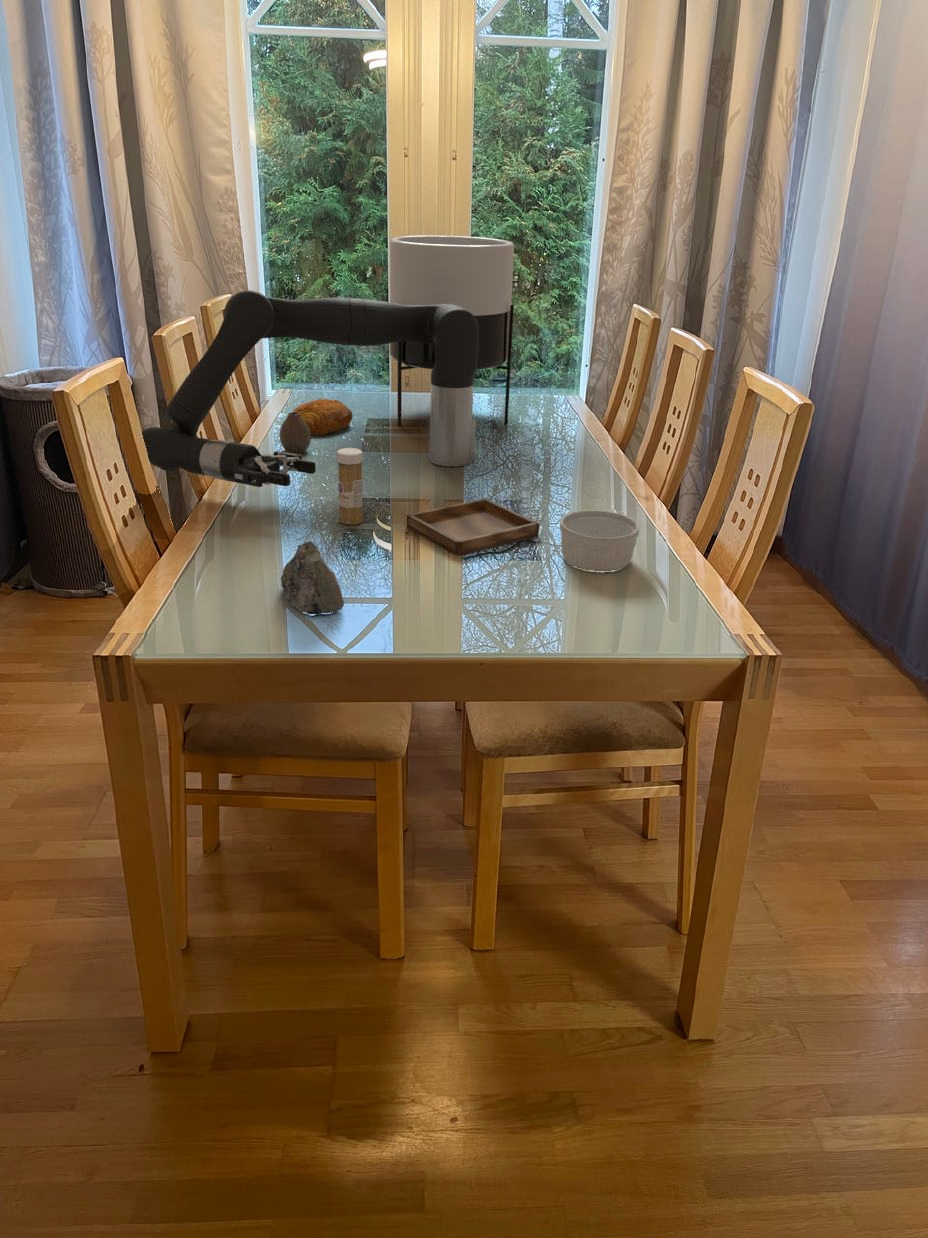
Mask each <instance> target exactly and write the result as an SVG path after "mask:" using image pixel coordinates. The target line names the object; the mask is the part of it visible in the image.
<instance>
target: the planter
mask: <svg viewBox="0 0 928 1238" xmlns="http://www.w3.org/2000/svg"><path fill="white" fill-rule="evenodd" d="M514 256H515V244H514V243H513V242H512V241H509V240H507V239H506V240H505V239H497V238H488V237H479V236H477V237H476V236H461V235H405V236H404V235H403V236H397V237H396V236H395V237H392V238H390V239H389V302H390V303H395V304H400V305H412V306H417V305H439V304H454V305H457V306H460V307H462V308H464V309H466V310H468V311H469V312H471V313H472V314H473V315H474V317H475V318H476V320H477V323H478V327H479V347H478V361H477V370H478V371H481V370H487V369H498V370H499V369H500V370H506V383H505V384H506V385H505V398H504V399H505V400H504V402H505V403H504V420H503V425H504V426H507V425H508V423H509V404H510V403H509V401H510V387H511V383H510V382H511V370H512V369H511V365H512V348H513V347H512V346H513V329H514V312H515V309H514V308H515V305H514V304H512V298H513V297H512V295H513V276H514V275H513V274H514ZM389 356H390V358H391V359H392V360H393V361H395V362H396V363H397V427H398V426H401V427H402V371H404V370H411V369H424V370H425V369H426V370H431V371H432V370H433V368H434V367H435V361H436V345H432V344H427V343H420V342H411V341H401V342H394V343H389ZM506 363H507V364H506ZM504 364H506V366H505V365H504ZM402 365H404V366H402ZM477 370H476V371H477Z"/></svg>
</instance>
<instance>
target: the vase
mask: <svg viewBox="0 0 928 1238" xmlns="http://www.w3.org/2000/svg"><path fill="white" fill-rule="evenodd" d="M311 436H312V434H311V433H310V429H309V427H308V425H307V423H306V422H305V421H304V420H303V418H302V417H301V415H300V413H299V412H293V411H290V412H288V414H287V417H286V418H285V420H284V421H283V423H281V426H280V430H279V441H280V444H281V446H282V448H283V450H285V452H287V453H294V454H303V453H305V452H306V451H307V450H308V448H309V447H310V444H311V440H312V437H311Z"/></svg>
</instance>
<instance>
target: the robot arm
mask: <svg viewBox="0 0 928 1238" xmlns="http://www.w3.org/2000/svg"><path fill="white" fill-rule="evenodd" d="M278 338H281V339H282V338H289V339H290V338H293V339H294V338H295V339H301V340H303V339H304V340H308V341H312V342H313V341H314V342H317V343H318V342H319V343H325V344H332V345H338V346H339V345H341V346H356V347H357V346H358V347H374V346H381V345H387V344H390V343H394V342H401V341H411V342H420V343H427V344H432V345H436V361H435V367H434V368H433V370H432V369H431V372H430V409H429V410H430V413H429V415H430V416H429V417H430V421H429V462H430V463H431V464H433V463H434V465H436V466H440V465H441V466H442V467H451V466H453V467H461V466H460V465H463V466H465V465H466V464H467V465H469V464H470V463H471V462H475V454H476V452H475V450H476V427H477V425H476V424H477V421H476V418H474V417H473V407H474V404H473V403H474V381H475V380H474V379H475V375H476V373H477V361H478V347H479V327H478V323H477V320H476V318H475V317H474V315H473V314H472V313H471V312H469V311H468V310H466V309H464V308H462V307H460V306H457V305H454V304H439V305H417V306H412V305H400V304H395V303H390V301H382V300H374V299H367V298H355V297H353V298H352V297H320V298H319V297H318V298H312V299H311V298H310V299H309V298H308V299H285V298H280V297H270V296H265V295H264V294H262V293H261V292H259V291H257V290H256V291H255V290H247V289H246V290H242V291H238V292H237V293H235V294H233V295H232V296H231V297H230V298H229V299H228V300H227V302H226V303H225V306H224V309H223V321H222V322H221V325H220V328H219V330H218V331H217V333H216V336H215V337H214V338H213V340H212V343H211V344H210V346H209V347H208V348H207V350H206V351H205V353H204V355H203V356H202V357H201V358H200V360H199V361H198V362H197V363H196V365H195V366H194V367H193V368H192V370H191V371H190V372H189V373H188V375H187V376H186V377H185V378H184V381H183V382H182V383H181V384H180V386H179V388H178V389H177V391H176V393H175V394H174V395H173V397H172V398H171V400H170V402H169V403H168V404H167V406H166V409H165V413H166V416H167V417H168V419H170V421H171V425H170V429H167V428H163V427H158V426H151V427H147V428H144V429H143V430H142V435H143V439H144V442H145V445H146V448H147V452H148V458H149V461H150V463H151V465H153V466H154V467H156V468H158V469H161V470H162V471H165V472H174V471H177V470H179V469H181V470H184V471H187V472H188V473H191V474H196V475H201V476H205V477H211V478H213V479H216V480H219V481H226V482H230V483H236V484H241V485H246V486H251V487H255V488H256V487H257V488H262V487H263V484H264V485H266V486H270V485H277V486H282V487H283V486H284V487H288V486H290V485H291V475H290V474H289V473H288V472H298V473H299V472H300V473H304V474H309V475H310V474H311V475H313V474H315V473H316V472H317V469H316V468H317V467H316V462H315V461H310V460H306V459H302V454H301V453H299V454H294V453H288V452H287V451H278V450H274V451H273V455H272V454H269V453H267V454H266V453H265V454H261V452H260V451H259V450H258V448H257V447H256V446H255V445H253V444H248V443H241V442H236V441H230V440H229V441H228V440H225V439H223V440H222V439H210V438H206V437H205V438H204V437H197V435H198V431H199V428H200V425H201V424H202V423H203V422H204V420H205V418H206V417H207V416H208V414H209V412H210V411H211V409H212V408H213V406H214V405H215V403H216V401H217V400H218V398H219V396H220V394H221V393H222V391H223V390H224V388H225V387H226V385H227V383H228V381H229V380H230V378H231V377H232V375H233V373H234V372H235V370H236V369H237V368H238V366H240V363H241V362H242V361H243V360H244V358H245V357H246V356H247V354H248V353H249V352H250V351H251V350H252V349H253V348H254V347H255V346H256V345H257V344H258V343H259V341H261V340H262V339H278ZM150 463H149V464H150ZM281 467H282V468H281Z"/></svg>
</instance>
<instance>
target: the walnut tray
mask: <svg viewBox="0 0 928 1238" xmlns="http://www.w3.org/2000/svg"><path fill="white" fill-rule="evenodd" d="M406 528H407V529H409V530H410V531H411V532H413V533H415V534H417V535H418V536H420V537H422V538H424V539H426V540H427V541H430V542H431V543H433V544H435V545H436V544H437V546H438V545H439V546H438V547H441V549H443V550H446V551H447V552H449V553H451V554H452V553H453V555H454V556H456V557H460V556H464V555H465V556H466V555H468V554H473V553H476V552H480V551H485V550H489V549H493V548H497V547H501V546H505V545H508V544H509V545H510V544H513V543H516V542H521V541H526V540H530V539H534V538H537V537H539V534H540V533H539V531H540V522H537V521H535V520H533V519H531V518H529V517H527V516H524V515H522V514H520V513H518V512H516V511H514V510H512V509H509V508H507V507H506V506H503V505H501V504H499V503H497V502H494V501H492V500H490V499H488V498H481V499H474V500H470V501H466V502H465V501H464V502H461V503H457V504H452V505H447V506H446V505H445V506H443V507H437V508H433V509H427V510H423V511H419V512H413V513H408V514H406Z"/></svg>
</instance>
